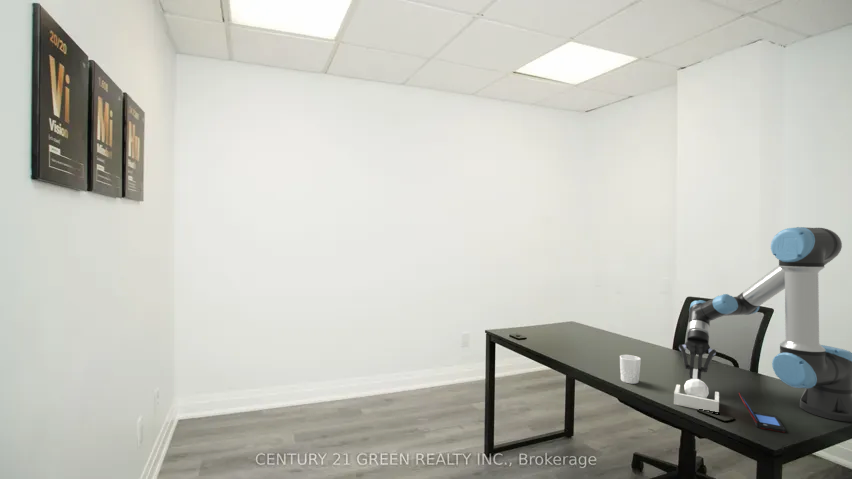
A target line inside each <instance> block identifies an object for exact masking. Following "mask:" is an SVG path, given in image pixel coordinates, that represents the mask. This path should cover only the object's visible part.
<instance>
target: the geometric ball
mask: <svg viewBox="0 0 852 479" xmlns="http://www.w3.org/2000/svg"><path fill="white" fill-rule="evenodd" d="M683 389H684V391H683V392H684V394H686V395H691V396H696V397H701V398H706V399H708V396H709V387H708V385H707V384H706V383H705V382H704V381H702V380H701V379H700V380H699V379H693V378H690V379H688V380H686V381H685V383H684V385H683Z"/></svg>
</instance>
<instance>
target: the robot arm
mask: <svg viewBox="0 0 852 479" xmlns="http://www.w3.org/2000/svg"><path fill="white" fill-rule="evenodd" d="M842 242H843V241H842V240H841V237H840V236H839V235H838V234H837V233H836V232H834V231H833V230H831V229H828V228H825V227H804V226H803V227H802V226H800V227H799V226H797V227H789V228H785V229H782V230H780V231H779V232H778V233H777V234H775V235H774V236H773V238H772V240H771V243H770V250H771V253H772V255H773V256H775V258H776V259H777V260H778V265H776V267H774V268H773V269H772V270H770V271H769V272H767V273H766V274H765V275H764V276H762V277H761V278H760V279H758V280H757V281H756V282H754V283H753V284H751V285H750V286H749V287H748V288H746V289H745V290H744V291H743V292H741V293H739V295H737V296H733V295H730V294H728V293H725V294H724V293H723V294H721V295H717V296H715V297H714V298H712V299H709V300H707V301H706V300H701V299H699V300H693V301H692V302H691V303H690V306H689V310H688V311H689V314H688V325H687V334H686V342H685V343H684V344H679V345H678V349H679V351H680V352H681V355H682V356H681V357H682V360H683V363H684V369H686V370H688V371H689V375H688V377H689V378H690V379H699V380H701V379H702V373H707V372H708V370H709V367H710V365H711V363H712V361H713V358H714V357H715V356H716V354H717V350H716V349H713V348H711V346H710V345H709V343H710V342H709V341H710V328H711V327H710V326H711V325H710V323H711V322H712V321H713V320H717V319H718V318H722V317H727V316H728V317H729V316H739V315H740V316H743V315H744V316H749V315H753V314H756V313H758V311H759V310H760V306H762V305H763V304H764V303H766V302H767V301H769V300H770V299H771V298H773V297H775V296H776V295H777V294H779V293H780V292H782V291H783V290H784V314H785V317H784V320H785V324H784V325H785V339H784V341H782V342H781V343H780V344H779V353H777V355H776V356H774V357H773V359H772V362H771V365H772V370H773V371H774V372H773V373H774V374H775V376H776V377H777V378H778V379H779V380H780V381H781V382H782V383H784V384H786V385H787V386H789V387H791V388H796V389H804V391H803V393H802V395H801V397H800V399H799V408H800V409H802V410H804V411H805V412H807V413H808V414H809V413H810V414H812V415H815V416H818V417H821V418H824V419H829V420H833V421H839V422H847V423H848V422H850V423H852V351H850V350H847V349H844V348H838V347H835V346H828V345H824V344H820V311H819V310H820V308H819V307H820V301H819V296H820V295H819V293H820V292H819V273H820V272H821V270H823V269H824V268H825V265H827V264H828V263H830V262H832V261H833V260H834V259H835V258H836V257H837V256H838V255H840V253H841V250H842V248H843V243H842ZM686 350H688V352H690V360H689V362H688V357H687V353H686ZM706 353H708V355H707V358H706V360H705V362H704V364H703V356H704V355H705V354H706ZM696 355H698V359H697V368H695V356H696ZM702 366H703V367H702Z"/></svg>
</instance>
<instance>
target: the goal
mask: <svg viewBox="0 0 852 479" xmlns="http://www.w3.org/2000/svg"><path fill="white" fill-rule="evenodd" d="M673 405H675V406H676V405H677V406H680V407H686V408H690V409H695V410H699V409H703V410H702V411H704V410H710V411H715V412H720V411H719V410H720V392H719V391H714V399H710V398H701V397H696V396H691V395H687V394H686V393H681V384H675V389H674V391H673Z"/></svg>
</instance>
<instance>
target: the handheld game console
mask: <svg viewBox="0 0 852 479" xmlns="http://www.w3.org/2000/svg"><path fill="white" fill-rule="evenodd" d="M738 394H739V397H740V399H741V401H742V403H743V405H744V406H745V408H746V409H747V411H748V412H749V415H750V417H751V418H752V420H753V423H754V424H755V427H756V428H757V429H763V430H769V431H774V432H778V433H786V428H785V427H784V425H783V423H782V421H780V419H779V418H778V416H776V415H773V414H769V413H763V412H758V411H754V410H753V409H751V407H750V406H749V404H748V403H747V401H746V400H745V398H744V397H743V395H742V394H741V392H738Z"/></svg>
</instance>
